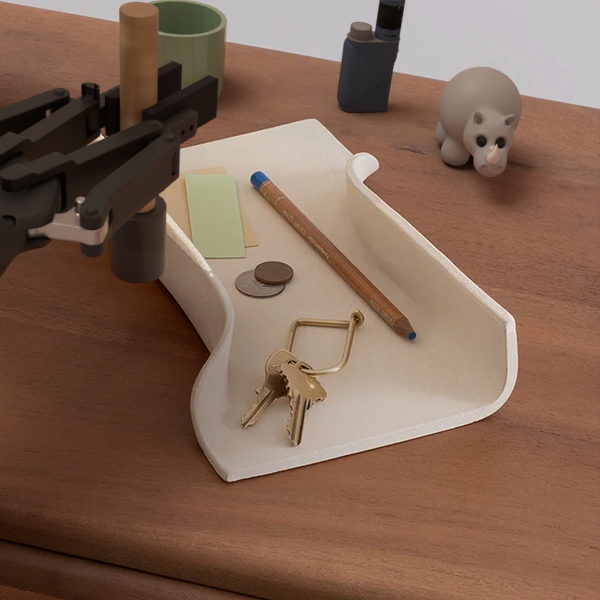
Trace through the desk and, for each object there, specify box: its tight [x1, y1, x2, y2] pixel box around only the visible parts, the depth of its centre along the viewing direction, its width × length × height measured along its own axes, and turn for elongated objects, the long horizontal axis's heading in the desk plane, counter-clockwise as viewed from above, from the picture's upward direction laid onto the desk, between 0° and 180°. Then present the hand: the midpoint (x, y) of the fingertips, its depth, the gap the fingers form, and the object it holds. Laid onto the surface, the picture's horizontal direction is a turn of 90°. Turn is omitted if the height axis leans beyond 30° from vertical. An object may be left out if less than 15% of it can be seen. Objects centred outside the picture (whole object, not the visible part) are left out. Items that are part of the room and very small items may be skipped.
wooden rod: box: [109, 1, 168, 285], centre depth 65 cm, size 4×4×18 cm
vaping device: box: [336, 0, 406, 113], centre depth 99 cm, size 3×5×12 cm, turn 102°
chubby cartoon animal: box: [434, 66, 523, 178], centre depth 92 cm, size 7×12×8 cm, turn 179°
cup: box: [147, 0, 228, 99], centre depth 100 cm, size 9×9×7 cm
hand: (194, 89), depth 68 cm, fingers closed on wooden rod, 2 cm apart
